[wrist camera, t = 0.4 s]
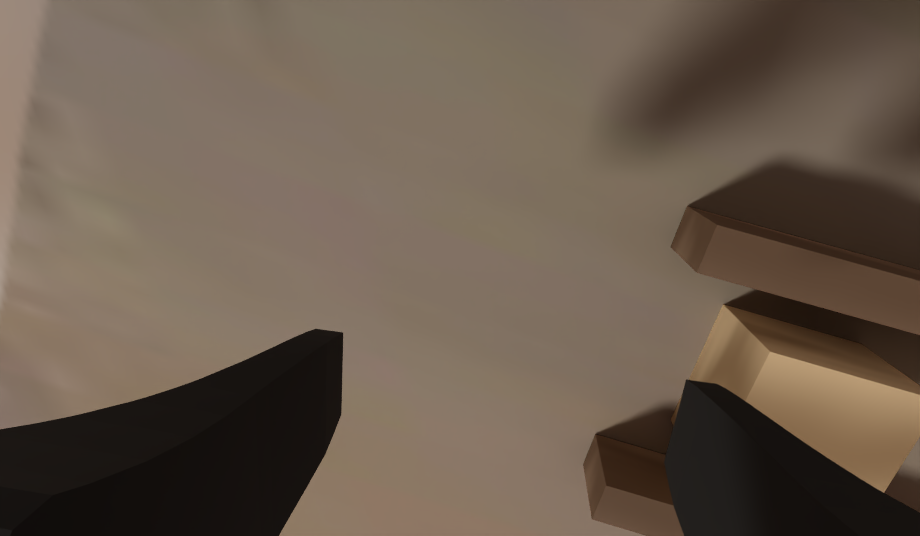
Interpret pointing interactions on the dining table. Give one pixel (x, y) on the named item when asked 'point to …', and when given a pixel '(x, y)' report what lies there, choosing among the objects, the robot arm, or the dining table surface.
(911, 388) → the oak block
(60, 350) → the dining table surface
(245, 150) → the dining table surface
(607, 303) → the dining table surface
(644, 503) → the walnut channel
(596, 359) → the dining table surface
